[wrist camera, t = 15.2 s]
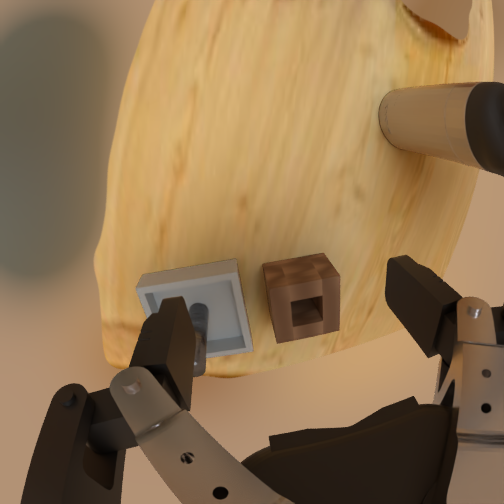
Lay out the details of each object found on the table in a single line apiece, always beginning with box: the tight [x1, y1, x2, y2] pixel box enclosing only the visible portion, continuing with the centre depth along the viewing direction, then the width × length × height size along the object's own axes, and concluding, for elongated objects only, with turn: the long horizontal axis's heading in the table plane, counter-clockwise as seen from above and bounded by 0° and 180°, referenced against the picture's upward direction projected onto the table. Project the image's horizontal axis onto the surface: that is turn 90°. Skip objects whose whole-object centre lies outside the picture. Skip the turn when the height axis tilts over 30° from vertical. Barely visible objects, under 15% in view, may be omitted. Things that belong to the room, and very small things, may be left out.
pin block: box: [263, 253, 340, 344], centre depth 40 cm, size 9×9×7 cm
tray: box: [136, 259, 253, 358], centre depth 42 cm, size 14×14×4 cm
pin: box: [189, 303, 209, 377], centre depth 37 cm, size 3×3×12 cm
